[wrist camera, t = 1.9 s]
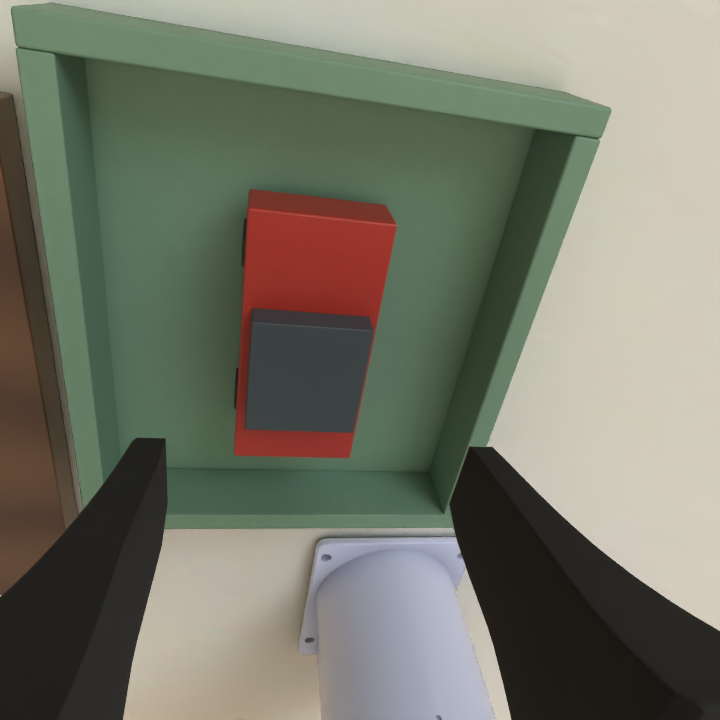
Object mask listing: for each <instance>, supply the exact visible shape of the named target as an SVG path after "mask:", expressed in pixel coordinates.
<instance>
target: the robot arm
mask: <svg viewBox="0 0 720 720" xmlns="http://www.w3.org/2000/svg"><path fill="white" fill-rule="evenodd" d="M167 505H168V495H167V463H166V438H136V439H134V440H133V441H132V442H131V443H130V445H129V447H128V448H127V450H126V452H125V453H124V455H123V456H122V458H121V459H120V461H119V462H118V464H117V465H116V467H115V468H114V470H113V471H112V472H111V474H110V475H109V477H108V478H107V479H106V481H105V482H104V484H103V485H102V486H101V487H100V489H99V490H98V491H97V493H96V494H95V495H94V496H93V498H92V499H91V500H90V502H89V503H88V504H87V506H86V507H85V508H84V509H83V511H82V512H81V513H80V514H79V515H78V517H77V518H76V519H75V520H74V521H73V522H72V523H71V525H70V526H69V527H68V528H67V529H66V530H65V532H64V533H63V534H62V535H61V536H60V537H59V538H58V540H57V541H56V542H55V543H54V544H53V545H52V546H51V547H50V548H49V549H48V550H47V552H46V553H45V554H44V555H43V556H42V557H41V558H40V559H39V560H38V561H37V562H36V563H35V564H34V565H33V566H32V567H31V568H30V569H29V570H28V571H27V572H26V573H25V574H24V575H23V576H22V577H21V578H20V579H19V580H18V581H17V582H16V583H15V584H14V585H13V586H12V587H10V588H9V589H8V590H7V591H6V592H5V593H4V594H3V595H2V596H1V597H0V720H123V715H124V709H125V703H126V696H127V690H128V684H129V678H130V672H131V666H132V661H133V656H134V652H135V647H136V643H137V639H138V635H139V631H140V627H141V623H142V620H143V616H144V612H145V608H146V604H147V600H148V597H149V593H150V589H151V585H152V581H153V577H154V574H155V570H156V566H157V562H158V558H159V554H160V550H161V546H162V540H163V533H164V526H165V519H166V512H167ZM449 506H450V511H451V516H452V521H453V526H454V530H455V534H456V537H404V538H325V539H322V540H320V541H319V542H318V543H317V545H316V550H315V555H314V561H313V566H312V572H311V577H310V583H309V588H308V594H307V599H306V605H305V610H304V616H303V621H302V627H301V632H300V638H299V643H298V650H299V652H300V653H301V654H303V655H314V654H317V666H318V679H319V691H320V704H321V717H322V720H496V717H495V713H494V710H493V707H492V704H491V701H490V698H489V694H488V691H487V688H486V685H485V682H484V679H483V676H482V672H481V669H480V666H479V663H478V660H477V657H476V654H475V650H474V647H473V644H472V641H471V638H470V635H469V631H468V628H467V625H466V622H465V619H464V616H463V613H462V609H461V606H460V603H459V600H458V597H457V594H456V590H457V587H458V585H459V582H460V580H461V578H462V575H463V573H464V570H465V568H466V569H467V571H468V574H469V577H470V580H471V582H472V585H473V588H474V591H475V593H476V596H477V599H478V602H479V604H480V607H481V610H482V613H483V615H484V618H485V621H486V624H487V626H488V629H489V633H490V636H491V639H492V642H493V645H494V649H495V653H496V657H497V661H498V665H499V669H500V673H501V677H502V680H503V684H504V689H505V693H506V697H507V702H508V706H509V710H510V715H511V719H512V720H720V631H718V630H717V629H715V628H713V627H712V626H710V625H708V624H707V623H705V622H703V621H701V620H700V619H698V618H696V617H695V616H693V615H691V614H690V613H688V612H687V611H685V610H683V609H682V608H680V607H679V606H677V605H676V604H674V603H672V602H671V601H669V600H668V599H666V598H665V597H663V596H662V595H660V594H659V593H658V592H656V591H655V590H653V589H652V588H650V587H649V586H647V585H646V584H644V583H643V582H641V581H640V580H639V579H637V578H636V577H635V576H633V575H632V574H630V573H629V572H628V571H626V570H625V569H624V568H623V567H621V566H620V565H619V564H617V563H616V562H615V561H614V560H612V559H611V558H610V557H608V556H607V555H606V554H605V553H603V552H602V551H601V550H600V549H598V548H597V547H596V546H595V545H594V544H592V543H591V542H590V541H589V540H588V539H587V538H586V537H584V536H583V535H582V534H581V533H580V532H579V531H578V530H577V529H575V528H574V527H573V526H572V525H571V524H570V523H569V522H568V521H567V520H565V519H564V518H563V517H562V516H561V515H560V514H559V513H558V512H557V511H556V510H555V509H554V508H553V507H552V506H551V505H550V504H549V503H548V502H547V501H546V500H545V499H544V498H543V497H541V496H540V495H539V494H538V493H537V492H536V491H535V490H534V489H533V488H532V486H531V485H530V484H529V483H528V482H527V481H526V480H525V479H524V478H523V477H522V476H521V475H520V474H519V473H518V472H517V471H516V470H515V469H514V468H513V467H512V466H511V465H510V464H509V463H508V462H507V461H506V460H505V459H504V458H503V457H502V456H501V455H500V454H499V453H498V452H497V451H496V450H495V449H494V448H493V447H469V449H468V452H467V455H466V458H465V460H464V463H463V466H462V469H461V472H460V475H459V477H458V480H457V483H456V486H455V489H454V492H453V494H452V497H451V500H450V503H449Z"/></svg>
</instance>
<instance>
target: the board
mask: <svg viewBox="0 0 720 720" xmlns="http://www.w3.org/2000/svg"><path fill="white" fill-rule="evenodd" d="M77 517H78V514H77V508H76V502H75V495H74V489H73V482H72V476H71V469H70V463H69V456H68V450H67V444H66V437H65V431H64V424H63V418H62V411H61V405H60V398H59V392H58V386H57V379H56V373H55V366H54V360H53V353H52V347H51V340H50V334H49V328H48V321H47V315H46V308H45V302H44V295H43V289H42V282H41V276H40V270H39V263H38V257H37V250H36V244H35V237H34V231H33V225H32V218H31V212H30V205H29V199H28V192H27V186H26V179H25V173H24V167H23V160H22V154H21V147H20V141H19V134H18V128H17V121H16V115H15V109H14V102H13V96H12V94H10V93H4V92H0V595H3V594H4V593H5V592H6V591H7V590H8V589H9V588H10V587H12V586H13V585H14V584H15V583H16V582H17V581H18V580H19V579H20V578H21V577H22V576H23V575H24V574H25V573H26V572H27V571H28V570H29V569H30V568H31V567H32V566H33V565H34V564H35V563H36V562H37V561H38V560H39V559H40V558H41V557H42V556H43V555H44V554H45V553H46V552H47V550H48V549H49V548H50V547H51V546H52V545H53V544H54V543H55V542H56V541H57V540H58V538H59V537H60V536H61V535H62V534H63V533H64V532H65V530H66V529H67V528H68V527H69V526H70V525H71V523H72V522H73V521H74V520H75V519H76V518H77Z"/></svg>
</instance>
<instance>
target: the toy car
mask: <svg viewBox="0 0 720 720" xmlns="http://www.w3.org/2000/svg"><path fill="white" fill-rule="evenodd" d="M396 229H397V224H396V222H395V220H394V219H393V217H392V215H391V213H390V211H389V210H388V208H387V206H386V205H382V204H374V203H365V202H357V201H348V200H340V199H332V198H323V197H315V196H306V195H298V194H290V193H281V192H273V191H264V190H256V189H250V190H249V195H248V207H247V218H245V219H244V224H243V239H242V258H241V265H242V267H244V279H243V297H242V315H241V333H240V351H239V368H236V376H235V392H234V409H236V423H235V441H234V455H235V456H267V457H312V458H350V455H351V450H352V445H353V440H354V435H355V430H356V425H357V420H358V415H359V411H360V406H361V401H362V396H363V391H364V386H365V381H366V376H367V371H368V366H369V362H370V357H371V352H372V347H373V342H374V337H375V332H376V327H377V322H378V317H379V313H380V308H381V303H382V298H383V293H384V288H385V283H386V278H387V273H388V268H389V263H390V259H391V254H392V249H393V244H394V239H395V234H396Z"/></svg>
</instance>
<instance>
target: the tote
mask: <svg viewBox="0 0 720 720" xmlns="http://www.w3.org/2000/svg"><path fill="white" fill-rule="evenodd" d="M11 15H12V22H13V29H14V36H15V43H16V45H17V46H18V47H19V48H16V54H17V61H18V68H19V75H20V82H21V88H22V95H23V102H24V109H25V116H26V123H27V129H28V136H29V143H30V150H31V157H32V163H33V170H34V177H35V184H36V191H37V198H38V204H39V211H40V218H41V225H42V232H43V239H44V245H45V252H46V259H47V266H48V273H49V280H50V286H51V293H52V300H53V307H54V314H55V321H56V327H57V334H58V341H59V348H60V355H61V362H62V368H63V375H64V382H65V389H66V396H67V403H68V409H69V416H70V423H71V430H72V437H73V444H74V450H75V457H76V464H77V471H78V478H79V485H80V491H81V498H82V505H83V509H84V508H85V507H86V506H87V504H88V503H89V502H90V500H91V499H92V498H93V496H94V495H95V494H96V493H97V491H98V490H99V489H100V487H101V486H102V485H103V484H104V482H105V481H106V479H107V478H108V477H109V475H110V474H111V472H112V471H113V470H114V468H115V467H116V465H117V464H118V462H119V461H120V459H121V458H122V456H123V455H124V453H125V452H126V450H127V448H128V447H129V445H130V443H131V442H132V441H133V440H134V439H136V438H166V463H167V495H168V505H167V512H166V519H165V526H164V529H261V528H454V526H453V521H452V516H451V511H450V506H449V503H450V500H451V497H452V494H453V492H454V489H455V486H456V483H457V480H458V477H459V475H460V472H461V469H462V466H463V463H464V460H465V458H466V455H467V452H468V449H469V447H486V446H487V443H488V441H489V438H490V435H491V433H492V430H493V427H494V425H495V422H496V419H497V416H498V414H499V411H500V408H501V406H502V403H503V400H504V398H505V395H506V392H507V390H508V387H509V384H510V382H511V379H512V376H513V374H514V371H515V368H516V366H517V363H518V360H519V357H520V355H521V352H522V349H523V347H524V344H525V341H526V339H527V336H528V333H529V331H530V328H531V325H532V323H533V320H534V317H535V315H536V312H537V309H538V306H539V304H540V301H541V298H542V296H543V293H544V290H545V288H546V285H547V282H548V280H549V277H550V274H551V272H552V269H553V266H554V264H555V261H556V258H557V256H558V253H559V250H560V247H561V245H562V242H563V239H564V237H565V234H566V231H567V229H568V226H569V223H570V221H571V218H572V215H573V213H574V210H575V207H576V205H577V202H578V199H579V197H580V194H581V191H582V188H583V186H584V183H585V180H586V178H587V175H588V172H589V170H590V167H591V164H592V162H593V159H594V156H595V154H596V151H597V148H598V146H599V143H600V140H599V139H598V138H601V137H602V135H603V132H604V129H605V127H606V124H607V121H608V119H609V116H610V113H611V109H610V108H609V107H606V106H603V105H601V104H598V103H595V102H592V101H589V100H586V99H583V98H580V97H577V96H575V95H572V94H570V93H567V92H561V91H555V90H550V89H544V88H538V87H532V86H527V85H521V84H515V83H509V82H504V81H498V80H492V79H486V78H481V77H475V76H469V75H463V74H458V73H452V72H446V71H440V70H435V69H429V68H423V67H417V66H412V65H406V64H400V63H394V62H389V61H383V60H377V59H371V58H366V57H360V56H354V55H348V54H343V53H337V52H331V51H325V50H320V49H314V48H308V47H302V46H297V45H291V44H285V43H279V42H274V41H268V40H262V39H256V38H251V37H245V36H239V35H234V34H228V33H222V32H216V31H211V30H205V29H199V28H193V27H188V26H182V25H176V24H170V23H165V22H159V21H153V20H147V19H142V18H136V17H130V16H124V15H119V14H113V13H107V12H101V11H96V10H90V9H84V8H78V7H73V6H67V5H61V4H55V3H47V4H35V5H20V6H13V7H11ZM250 189H256V190H264V191H273V192H281V193H290V194H298V195H306V196H315V197H323V198H332V199H340V200H348V201H357V202H365V203H374V204H382V205H386V206H387V208H388V210H389V211H390V213H391V215H392V217H393V219H394V220H395V222H396V224H397V229H396V234H395V239H394V244H393V249H392V254H391V259H390V263H389V268H388V273H387V278H386V283H385V288H384V293H383V298H382V303H381V308H380V313H379V317H378V322H377V327H376V332H375V337H374V342H373V347H372V352H371V357H370V362H369V366H368V371H367V376H366V381H365V386H364V391H363V396H362V401H361V406H360V411H359V415H358V420H357V425H356V430H355V435H354V440H353V445H352V450H351V455H350V458H312V457H267V456H235V455H234V441H235V423H236V409H234V392H235V376H236V368H239V351H240V333H241V315H242V297H243V279H244V267H242V265H241V258H242V239H243V224H244V219H245V218H247V207H248V195H249V190H250Z"/></svg>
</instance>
